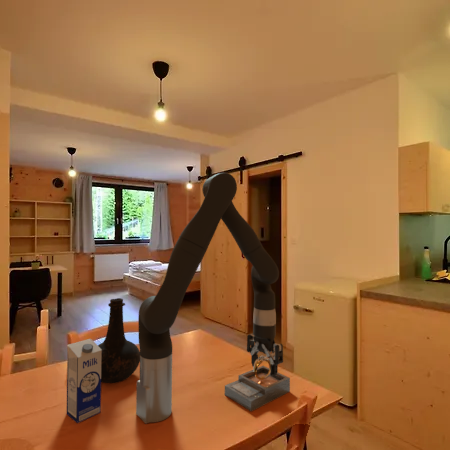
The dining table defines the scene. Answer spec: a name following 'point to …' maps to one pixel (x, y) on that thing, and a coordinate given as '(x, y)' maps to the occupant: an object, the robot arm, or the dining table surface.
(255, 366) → the ring
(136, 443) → the dining table surface
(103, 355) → the glass bottle
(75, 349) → the milk carton
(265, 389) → the grey tray
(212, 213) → the robot arm
